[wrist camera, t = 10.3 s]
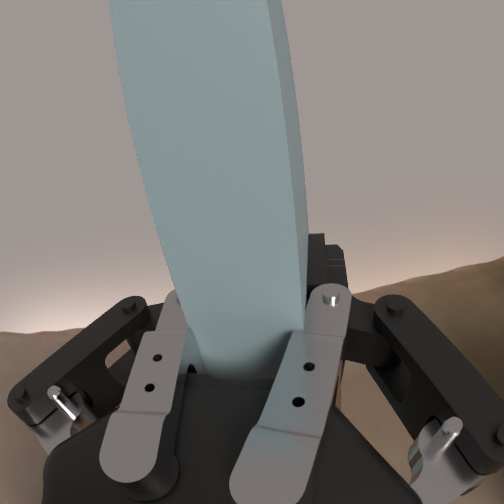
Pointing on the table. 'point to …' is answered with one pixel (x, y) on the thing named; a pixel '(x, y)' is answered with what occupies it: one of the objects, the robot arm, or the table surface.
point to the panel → (221, 169)
